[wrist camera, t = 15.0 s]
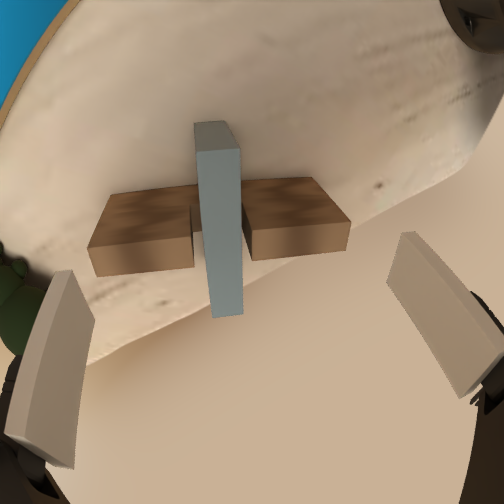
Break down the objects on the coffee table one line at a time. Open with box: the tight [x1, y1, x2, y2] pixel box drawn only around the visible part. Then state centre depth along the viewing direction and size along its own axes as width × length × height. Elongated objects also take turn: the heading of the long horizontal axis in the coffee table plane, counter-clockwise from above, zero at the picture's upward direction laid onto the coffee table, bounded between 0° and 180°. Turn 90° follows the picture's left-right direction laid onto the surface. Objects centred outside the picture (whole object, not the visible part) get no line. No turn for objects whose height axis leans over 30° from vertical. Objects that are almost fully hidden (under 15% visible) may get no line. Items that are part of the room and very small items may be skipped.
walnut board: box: [87, 177, 351, 277], centre depth 29 cm, size 22×3×10 cm, turn 90°
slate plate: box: [194, 121, 243, 318], centre depth 29 cm, size 16×3×10 cm, turn 0°
